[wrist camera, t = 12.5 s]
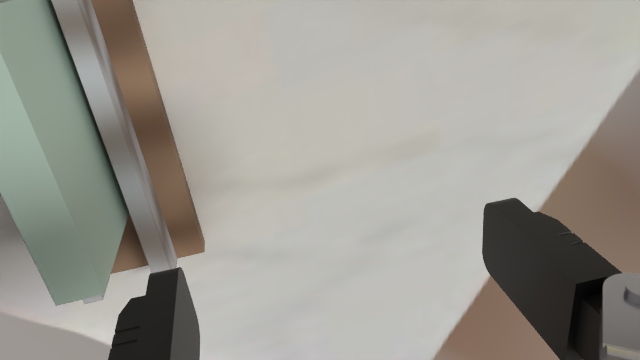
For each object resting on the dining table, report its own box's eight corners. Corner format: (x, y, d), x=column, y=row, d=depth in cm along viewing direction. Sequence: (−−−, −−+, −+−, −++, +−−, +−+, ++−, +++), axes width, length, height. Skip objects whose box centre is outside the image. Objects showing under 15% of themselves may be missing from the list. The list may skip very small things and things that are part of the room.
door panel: (-6, -2, 28) (-108, 23, 19) (53, -12, 28) (-19, 8, 19) (83, 214, 34) (39, 309, 25) (131, 204, 34) (104, 294, 25)
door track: (-78, -51, 27) (-127, -50, 23) (108, -80, 29) (92, -84, 25) (70, 272, 37) (53, 311, 33) (204, 241, 38) (203, 275, 34)
